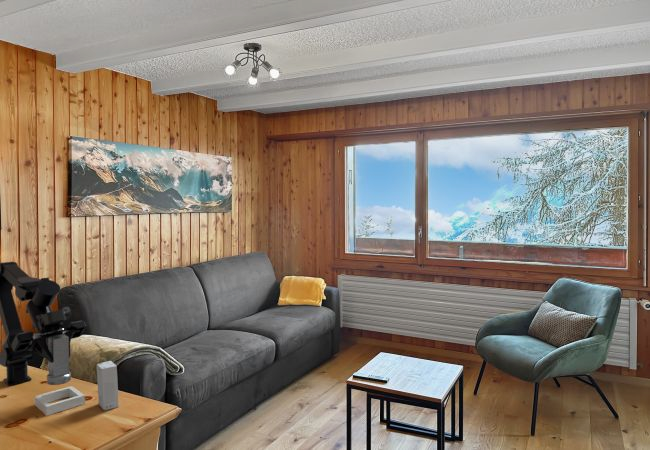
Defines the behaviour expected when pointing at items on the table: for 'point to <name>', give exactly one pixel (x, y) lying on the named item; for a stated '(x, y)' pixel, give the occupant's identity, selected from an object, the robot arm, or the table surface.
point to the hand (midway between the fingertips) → (60, 359)
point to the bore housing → (49, 409)
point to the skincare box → (107, 385)
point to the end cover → (59, 360)
